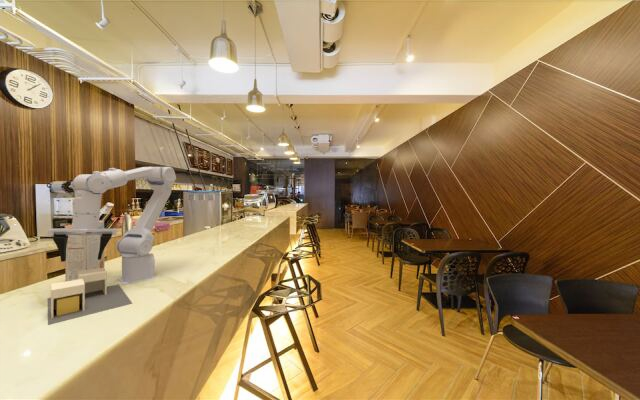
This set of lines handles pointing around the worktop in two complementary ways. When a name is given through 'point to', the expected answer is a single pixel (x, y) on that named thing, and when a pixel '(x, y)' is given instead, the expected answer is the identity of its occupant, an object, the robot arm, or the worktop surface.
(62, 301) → the cube
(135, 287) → the worktop surface
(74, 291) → the box
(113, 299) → the mat
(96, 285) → the box
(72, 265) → the cracker box
